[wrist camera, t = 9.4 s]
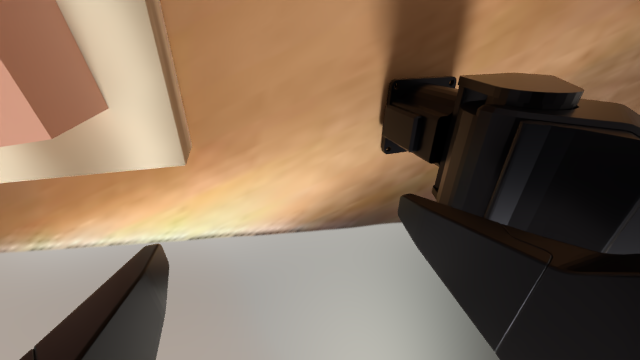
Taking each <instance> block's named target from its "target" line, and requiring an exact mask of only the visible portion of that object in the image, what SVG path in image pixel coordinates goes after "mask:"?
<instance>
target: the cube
mask: <svg viewBox="0 0 640 360" xmlns="http://www.w3.org/2000/svg"><path fill="white" fill-rule="evenodd" d="M107 109H109V108H108V106H107V104H106V102H105V100H104V98H103V96H102V94H101V92H100V90H99V88H98V85H97V83H96V81H95V79H94V77H93V75H92V73H91V71H90V69H89V67H88V65H87V63H86V61H85V59H84V57H83V55H82V53H81V51H80V49H79V47H78V45H77V43H76V41H75V39H74V37H73V35H72V33H71V31H70V29H69V27H68V25H67V23H66V21H65V19H64V17H63V14H62V12H61V10H60V8H59V6H58V4H57V2H56V0H0V147H4V146H11V145H17V144H24V143H30V142H37V141H44V140H50V139H53V138H55V137H57V136H59V135H61V134H62V133H64V132H66V131H68V130H70V129H72V128H73V127H75V126H77V125H79V124H81V123H83V122H85V121H86V120H88V119H90V118H92V117H94V116H96V115H97V114H99V113H101V112H103V111H105V110H107Z"/></svg>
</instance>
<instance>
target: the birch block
mask: <svg viewBox="0 0 640 360" xmlns="http://www.w3.org/2000/svg"><path fill="white" fill-rule="evenodd" d="M56 2H57V4H58V6H59V8H60V10H61V12H62V14H63V17H64V19H65V21H66V23H67V25H68V27H69V29H70V31H71V33H72V35H73V37H74V39H75V41H76V43H77V45H78V47H79V49H80V51H81V53H82V55H83V57H84V59H85V61H86V63H87V65H88V67H89V69H90V71H91V73H92V75H93V77H94V79H95V81H96V83H97V85H98V88H99V90H100V92H101V94H102V96H103V98H104V100H105V102H106V104H107V106H108V108H109V109H107V110H105V111H103V112H101V113H99V114H97V115H96V116H94V117H92V118H90V119H88V120H86V121H85V122H83V123H81V124H79V125H77V126H75V127H73V128H72V129H70V130H68V131H66V132H64V133H62V134H61V135H59V136H57V137H55V138H53V139H50V140H44V141H37V142H30V143H24V144H17V145H11V146H4V147H0V183H6V182H17V181H27V180H38V179H48V178H58V177H69V176H79V175H90V174H100V173H111V172H121V171H131V170H142V169H152V168H163V167H173V166H184V165H186V163H187V159H188V156H189V153H190V150H191V147H192V143H191V138H190V134H189V129H188V125H187V120H186V116H185V111H184V107H183V102H182V98H181V93H180V89H179V84H178V80H177V75H176V71H175V67H174V62H173V58H172V53H171V49H170V44H169V40H168V35H167V31H166V26H165V22H164V17H163V13H162V8H161V4H160V0H56Z"/></svg>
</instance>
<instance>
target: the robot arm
mask: <svg viewBox="0 0 640 360" xmlns="http://www.w3.org/2000/svg"><path fill="white" fill-rule="evenodd" d="M450 81H451V82H450ZM449 82H450V84H449ZM396 83H397V87H396V88H394V86H395V84H396ZM455 85H456V78H455V77H452V76H444V77H426V78H408V79H394V80H392V81H391V82H390V84H389V90H388V99H387V106H386V108H385V116H384V125H383V133H382V134H383V141H382V151H383V152H384V153H385V154H392V153H399V152H406V151H408V152H412V153H414V154H415V155H417V156H419V157H420V158H422V159H424V160H425V161H427V162H429V163H431V164H432V163H433V164H435V165H437V166H439V170H438V174H437V178H436V182H435V185H434V186H433V188H432V194H433V195H434V197H435V198H436V200H437V202H435V201H432V200H429V199H426V198H423V197H420V196H417V195H414V194H405V195H402V196H401V197H400V201H399V206H398V216H399V218H400V220H401V221H402V223H403V225H404V226H405V228H406V230H407V231H408V233H409V235H410V236H411V238H412V240H413V241H414V243H415V245H416V246H417V248H418V249H419V250H420V252H421V253H422V255H423V256H424V257H425V259H426V260H427V261H428V263H429V264H430V265H431V267H432V268H433V269H434V271H435V272H436V273H437V275H438V276H439V277H440V279H441V280H442V282H443V283H444V284H445V286H446V287H447V288H448V290H449V291H450V292H451V294H452V295H453V296H454V298H455V299H456V301H457V302H458V303H459V305H460V306H461V307H462V309H463V310H464V311H465V313H466V314H467V315H468V317H469V318H470V319H471V321H472V322H473V323H474V325H475V326H476V328H477V329H478V330H479V332H480V333H481V334H482V335H483V337H484V338H485V340H486V341H487V342H488V344H489V345H490V346H491V348H492V349H493V351H494V352H495V353H496V355H497V356H498V358H499V359H500V360H640V115H639V114H637V113H636V112H634V111H633V110H631V109H630V108H628V107H627V106H625V105H623V104H618V103H611V102H603V101H594V100H586V99H580V98H581V96H582V94H583V92H584V89H582V88H580V87H578V86H575V85H573V84H571V83H569V82H566V81H564V80H562V79H560V78H557V77H555V76H551V75H538V74H524V73H500V74H482V75H464V76H460V78H459V82H458V85H459V89H455ZM387 147H389V148H388V149H387ZM386 149H387V150H386ZM168 276H169V263H168V260H167V257H166V255H165V253H164V250H163V248H162V246H161V245H160V244H153V245H148V246H145V247H144V248H143V249H141V250H140V251H139V252H138V253H137V254H136V255H135V256H134V257H133V258H132V259H130V260H129V261H128V262H127V263H126V264H125V265H124V266H123V267H122V268H121V269H119V270H118V271H117V272H116V273H115V274H114V275H113V276H112V277H111V278H109V280H107V281H106V282H105V283H104V284H103V285H102V286H101V287H100V288H98V289H97V290H96V291H95V292H94V293H93V294H92V295H91V296H90V297H88V298H87V299H86V300H85V301H84V302H83V303H82V304H81V305H80V306H78V307H77V308H76V309H75V310H74V311H73V312H72V313H71V314H70V315H69V316H67V318H65V319H64V320H63V321H62V322H61V323H60V324H59V325H58V326H56V327H55V328H54V329H53V330H52V331H51V332H50V333H49V334H48V335H46V336H45V337H44V338H43V339H42V340H41V341H40V342H39V343H38V344H36V345H35V347H34V349H31V350H30V351H29V352H28V353H26V354H25V355H24V356H23V357H22V358H21V359H20V360H156V356H157V351H158V346H159V341H160V337H161V332H162V327H163V322H164V317H165V311H166V300H167V288H168Z"/></svg>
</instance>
